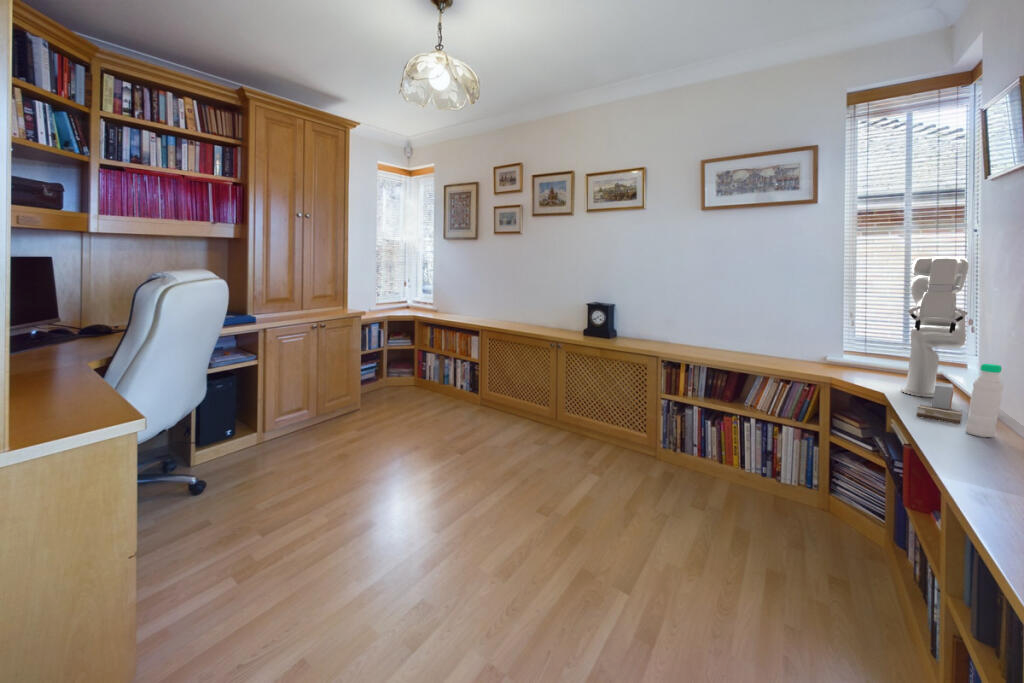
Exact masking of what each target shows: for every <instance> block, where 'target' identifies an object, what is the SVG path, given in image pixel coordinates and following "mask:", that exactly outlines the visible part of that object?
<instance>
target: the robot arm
mask: <svg viewBox="0 0 1024 683" xmlns="http://www.w3.org/2000/svg"><path fill="white" fill-rule="evenodd" d="M911 269H912V271H911V272H912V274H913V275H914V276H916V277H914V278H913V279H912V280H911V283H910V292H911V296H912V299H913V301H914V302H915V304H916V306H915V307H912V308H910V309H908V310H907V312H908V314H909V315H910V317H911V318H912V319H913V320H914V321H915V323H914V324H915V325H914V327H913V328H912V329H911V330H910V356H909V357H910V358H909V363H908V371H907V378H906V384H905V387H902V388H901V389H900V391H901V392H902V393H903V392H904V393H903V394H906V393H907V394H906V395H909V394H911V395H910V396H914V395H915V397H921V396H922V397H923V398H934V391H935V385H936V382H937V375H938V368H939V363H940V357H939V354H938V353H937V352H936V351H935V350H934V349H933V348H945V349H960V348H961V347H964V345H965V343H966V337H967V336H966V334H967V332H966V316H967V315H968V314H969V312H968V311H966V310H964V309H962V308H959V307H957V294H956V293H960V292H961V291H962V290H963V288H964V285H965V281H966V277H967V275H968V271H969V262H968V260H967V258H965V257H961V256H959V257H958V256H955V257H954V256H953V257H951V256H948V257H947V256H932V257H917V258H916V259H915V260H914V261H913V264H912V268H911ZM915 311H916V312H915ZM922 397H921V398H922Z"/></svg>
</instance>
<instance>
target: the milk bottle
mask: <svg viewBox="0 0 1024 683" xmlns="http://www.w3.org/2000/svg"><path fill="white" fill-rule="evenodd" d="M980 372H981V374H980V375H979V376H977V379H975V380H974V381H973V383H972V387H973V388H972V392H971V396H970V401H969V413H968V414H967V422H966V425H965V432H966V433H967V434H969V435H971V434H972V436H974V435H975V436H976V437H979V436H980V437H979V438H986V437H990V438H993V437H995V435H996V427H997V424H998V414H999V411H1000V407H1001V403H1002V402H1001V401H1002V393H1003V389H1004V385H1003V383H1002V381H1001V378H1000V377H999V375H1000V374H1001V373H1002V366H1001V365H999V364H995V363H981V365H980Z"/></svg>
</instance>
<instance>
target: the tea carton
mask: <svg viewBox="0 0 1024 683" xmlns="http://www.w3.org/2000/svg"><path fill="white" fill-rule="evenodd" d="M954 392H955V387H954V384H953V383H945V382H940V381H939V382H938V381H936V382H935V389H934V397H932V398H933V399H932V405H931V407H937V408H943V409H949V410H952V402H953V397H954Z"/></svg>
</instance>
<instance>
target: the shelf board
mask: <svg viewBox="0 0 1024 683" xmlns="http://www.w3.org/2000/svg"><path fill="white" fill-rule="evenodd" d="M962 414H963V413H962V410H955V409H943V408H937V407H932V405H923V404H920V405H917V409H916V416H918V417H917V418H921V417H923V418H922V419H927V418H929V420H933V419H934V421H938V420H940V422H944V421H945V423H950V422H951V423H950V424H956V425H961V421H962Z"/></svg>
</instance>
